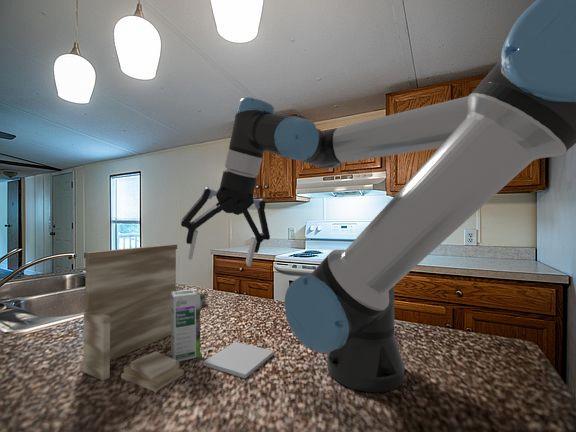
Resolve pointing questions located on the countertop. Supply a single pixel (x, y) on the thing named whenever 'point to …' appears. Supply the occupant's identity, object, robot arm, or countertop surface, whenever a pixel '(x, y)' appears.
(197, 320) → the syrup box
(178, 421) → the countertop surface
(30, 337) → the countertop surface
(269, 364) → the countertop surface
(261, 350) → the mat
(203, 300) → the egg carton
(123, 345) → the wood grain panel
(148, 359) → the offcut stack
